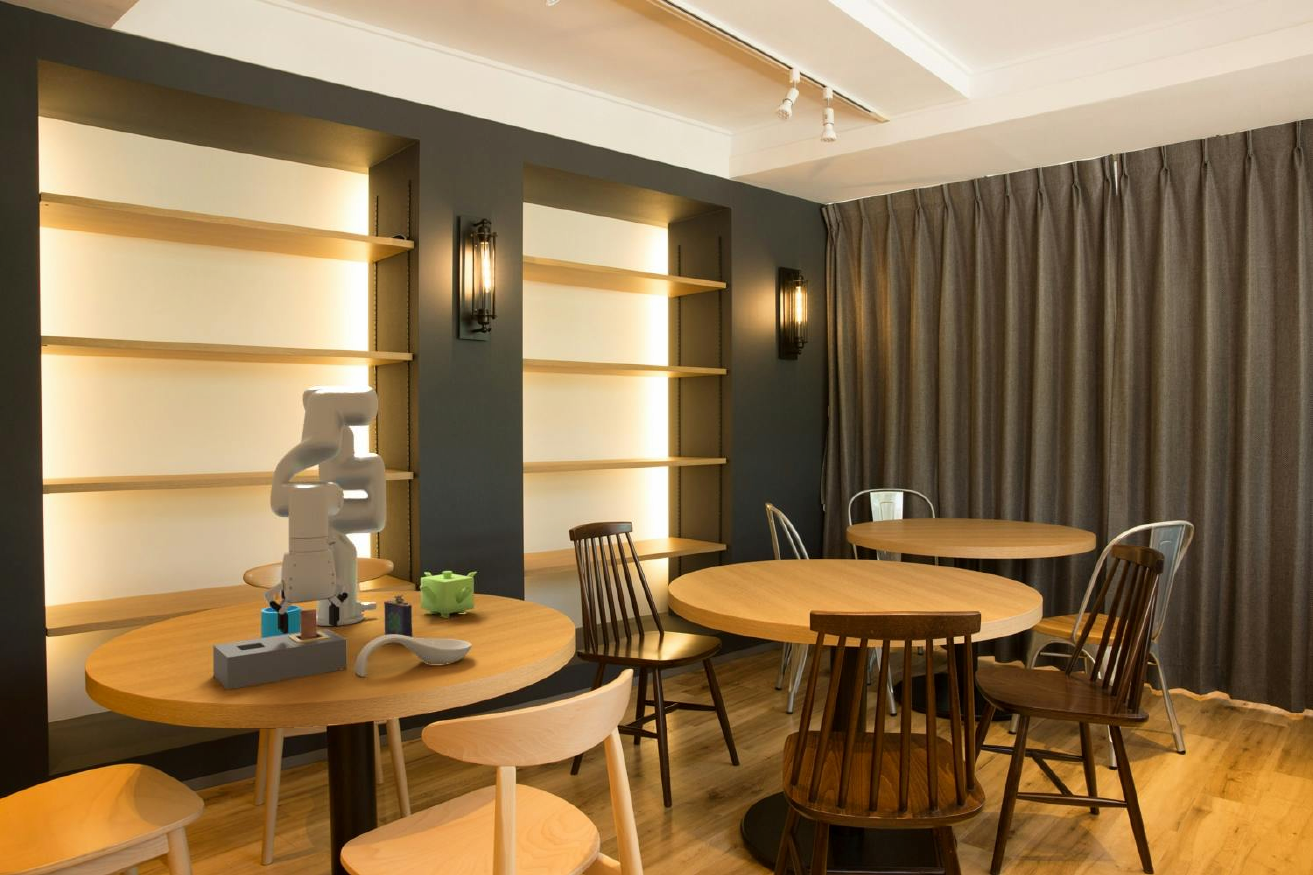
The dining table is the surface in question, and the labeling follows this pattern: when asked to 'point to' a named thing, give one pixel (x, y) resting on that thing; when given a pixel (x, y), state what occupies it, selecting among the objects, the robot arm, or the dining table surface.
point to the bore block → (277, 658)
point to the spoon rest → (417, 650)
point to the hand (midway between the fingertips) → (309, 628)
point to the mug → (271, 621)
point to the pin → (308, 624)
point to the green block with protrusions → (447, 593)
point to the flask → (398, 617)
